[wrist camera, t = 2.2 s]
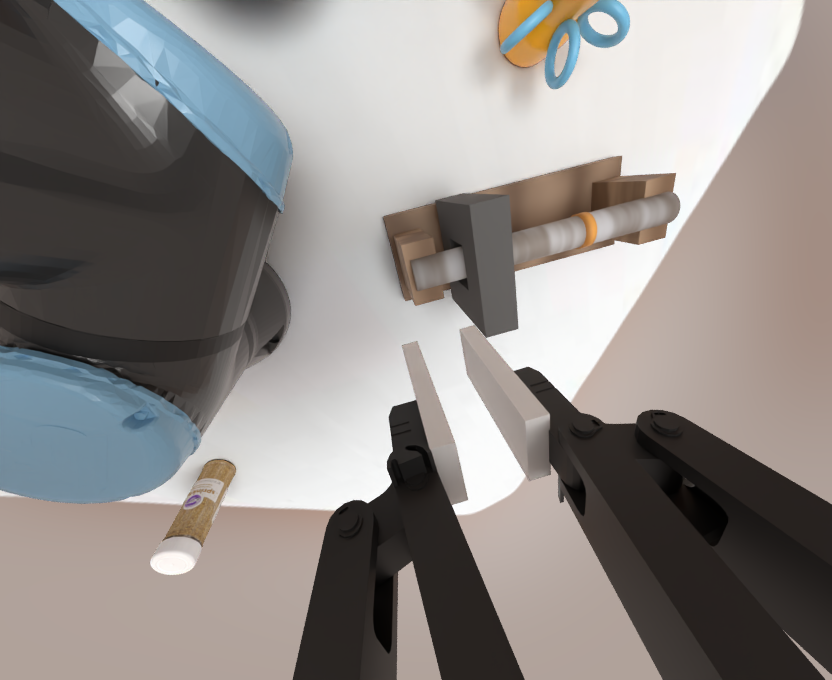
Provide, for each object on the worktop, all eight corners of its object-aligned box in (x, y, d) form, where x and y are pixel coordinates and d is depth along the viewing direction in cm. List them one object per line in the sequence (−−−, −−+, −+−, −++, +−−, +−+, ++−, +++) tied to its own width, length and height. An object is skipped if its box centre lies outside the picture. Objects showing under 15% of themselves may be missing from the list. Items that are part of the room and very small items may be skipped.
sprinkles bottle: (224, 454, 45) (176, 548, 33) (242, 472, 47) (203, 567, 35) (196, 465, 45) (138, 563, 33) (216, 483, 47) (167, 581, 35)
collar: (452, 298, 36) (486, 337, 27) (435, 200, 31) (469, 205, 21) (476, 291, 36) (518, 328, 27) (463, 193, 31) (509, 194, 22)
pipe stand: (403, 297, 39) (417, 331, 29) (383, 216, 34) (391, 226, 25) (605, 242, 40) (680, 258, 31) (612, 157, 35) (703, 144, 26)
